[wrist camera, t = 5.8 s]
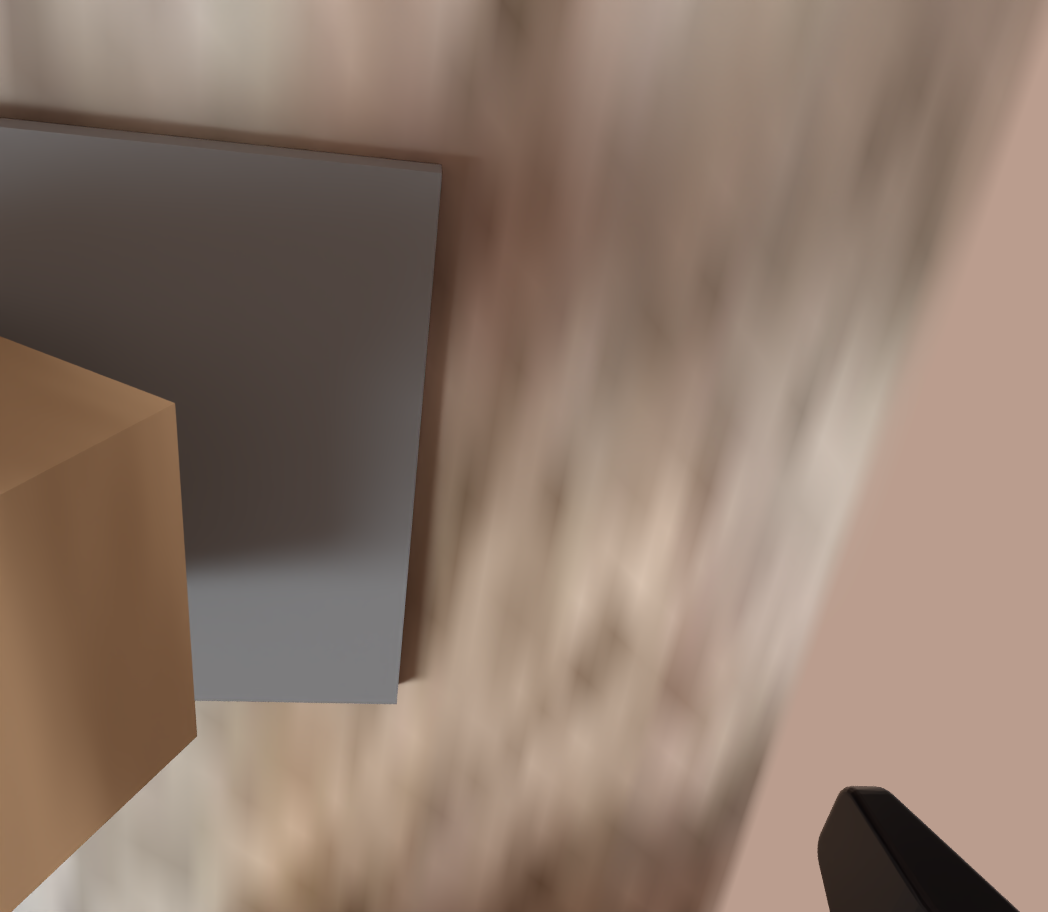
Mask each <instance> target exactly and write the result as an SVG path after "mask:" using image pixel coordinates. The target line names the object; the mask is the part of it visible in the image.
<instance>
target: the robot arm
mask: <svg viewBox="0 0 1048 912" xmlns="http://www.w3.org/2000/svg"><path fill="white" fill-rule="evenodd" d="M818 860H819V865H820V870H821V874H822V879H823V883H824V887H825V892H826V896H827V900H828V905H829V909H830V912H1020V911H1018V910H1017V909H1016V908H1015V907H1014V906H1013V905H1012V904H1011V903H1010V902H1009V901H1008V900H1006V899H1005V898H1004V897H1003V896H1002V895H1001V894H1000V893H999V892H998V891H997V890H996V889H994V887H992V886H991V885H990V884H989V883H988V882H987V881H985V879H984V878H983V877H982V876H981V875H979V874H978V873H977V872H976V871H975V870H974V869H973V868H972V867H971V866H969V864H968V863H966V862H965V861H964V860H963V859H962V858H961V857H960V856H959V855H958V854H957V853H956V852H954V851H953V850H952V849H951V848H950V847H949V846H948V845H947V844H946V843H945V842H944V841H943V840H941V839H940V838H939V837H938V836H937V835H936V834H935V833H934V832H933V831H932V830H931V829H930V828H928V827H927V826H926V825H925V824H924V823H923V822H922V821H921V820H920V819H919V818H918V817H917V816H915V815H914V814H913V813H912V812H911V811H910V810H909V809H908V808H907V807H906V806H905V805H904V804H902V803H901V802H900V801H899V800H898V799H897V798H896V797H895V796H894V795H893V794H891V793H890V792H889V791H887V790H885V789H884V788H881V787H867V786H850V787H846V788H844V789H843V790H842V791H840V793H839V795H838V797H837V799H836V801H835V803H834V805H833V807H832V810H831V812H830V814H829V816H828V818H827V821H826V823H825V825H824V827H823V829H822V832H821V834H820V837H819V841H818Z"/></svg>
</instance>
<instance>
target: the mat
mask: <svg viewBox="0 0 1048 912" xmlns="http://www.w3.org/2000/svg"><path fill="white" fill-rule="evenodd" d="M441 180H442V167H441V165H440V164H431V163H421V162H412V161H402V160H393V159H384V158H374V157H365V156H355V155H346V154H336V153H327V152H318V151H308V150H299V149H289V148H280V147H271V146H261V145H252V144H242V143H233V142H223V141H214V140H205V139H195V138H186V137H176V136H167V135H158V134H148V133H139V132H129V131H120V130H110V129H101V128H92V127H82V126H73V125H63V124H54V123H45V122H35V121H26V120H16V119H7V118H0V336H1V337H3V338H6V339H8V340H11V341H14V342H16V343H19V344H22V345H24V346H27V347H29V348H32V349H35V350H37V351H40V352H43V353H45V354H48V355H50V356H53V357H56V358H58V359H61V360H63V361H66V362H69V363H71V364H74V365H77V366H79V367H82V368H84V369H87V370H90V371H92V372H95V373H98V374H100V375H103V376H105V377H108V378H111V379H113V380H116V381H118V382H121V383H124V384H126V385H129V386H132V387H134V388H137V389H139V390H142V391H145V392H147V393H150V394H152V395H155V396H158V397H160V398H163V399H166V400H168V401H171V402H173V403H175V409H176V424H177V440H178V455H179V470H180V485H181V500H182V516H183V531H184V546H185V561H186V577H187V592H188V607H189V622H190V637H191V653H192V668H193V683H194V698H195V701H249V702H304V703H359V704H397V693H398V681H399V669H400V658H401V646H402V634H403V623H404V611H405V600H406V588H407V576H408V565H409V553H410V541H411V530H412V518H413V506H414V495H415V483H416V471H417V460H418V448H419V437H420V425H421V413H422V402H423V390H424V378H425V367H426V355H427V343H428V332H429V320H430V309H431V297H432V285H433V274H434V262H435V250H436V239H437V227H438V215H439V204H440V192H441Z"/></svg>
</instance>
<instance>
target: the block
mask: <svg viewBox="0 0 1048 912" xmlns="http://www.w3.org/2000/svg"><path fill="white" fill-rule="evenodd" d="M196 737H197V729H196V714H195V698H194V683H193V668H192V653H191V637H190V622H189V607H188V592H187V577H186V561H185V546H184V531H183V516H182V500H181V485H180V470H179V455H178V440H177V424H176V409H175V403H173V402H171V401H168V400H166V399H163V398H160V397H158V396H155V395H152V394H150V393H147V392H145V391H142V390H139V389H137V388H134V387H132V386H129V385H126V384H124V383H121V382H118V381H116V380H113V379H111V378H108V377H105V376H103V375H100V374H98V373H95V372H92V371H90V370H87V369H84V368H82V367H79V366H77V365H74V364H71V363H69V362H66V361H63V360H61V359H58V358H56V357H53V356H50V355H48V354H45V353H43V352H40V351H37V350H35V349H32V348H29V347H27V346H24V345H22V344H19V343H16V342H14V341H11V340H8V339H6V338H3V337H1V336H0V912H12V911H13V910H14V909H15V908H16V907H17V906H18V905H19V904H20V903H21V902H22V901H23V900H24V899H25V898H26V897H28V896H29V895H30V894H31V893H32V892H33V891H34V890H35V889H36V888H37V887H38V886H39V885H40V884H41V883H42V882H43V881H44V880H46V879H47V878H48V877H49V876H50V875H51V874H52V873H53V872H54V871H55V870H56V869H57V868H58V867H59V866H60V865H61V864H62V863H63V862H65V861H66V860H67V859H68V858H69V857H70V856H71V855H72V854H73V853H74V852H75V851H76V850H77V849H78V848H79V847H80V846H81V845H83V844H84V843H85V842H86V841H87V840H88V839H89V838H90V837H91V836H92V835H93V834H94V833H95V832H96V831H97V830H98V829H99V828H101V827H102V826H103V825H104V824H105V823H106V822H107V821H108V820H109V819H110V818H111V817H112V816H113V815H114V814H115V813H116V812H117V811H118V810H120V809H121V808H122V807H123V806H124V805H125V804H126V803H127V802H128V801H129V800H130V799H131V798H132V797H133V796H134V795H135V794H136V793H138V792H139V791H140V790H141V789H142V788H143V787H144V786H145V785H146V784H147V783H148V782H149V781H150V780H151V779H152V778H153V777H154V776H155V775H157V774H158V773H159V772H160V771H161V770H162V769H163V768H164V767H165V766H166V765H167V764H168V763H169V762H170V761H171V760H172V759H173V758H175V757H176V756H177V755H178V754H179V753H180V752H181V751H182V750H183V749H184V748H185V747H186V746H187V745H188V744H189V743H190V742H191V741H192V740H194V739H195V738H196Z"/></svg>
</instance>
